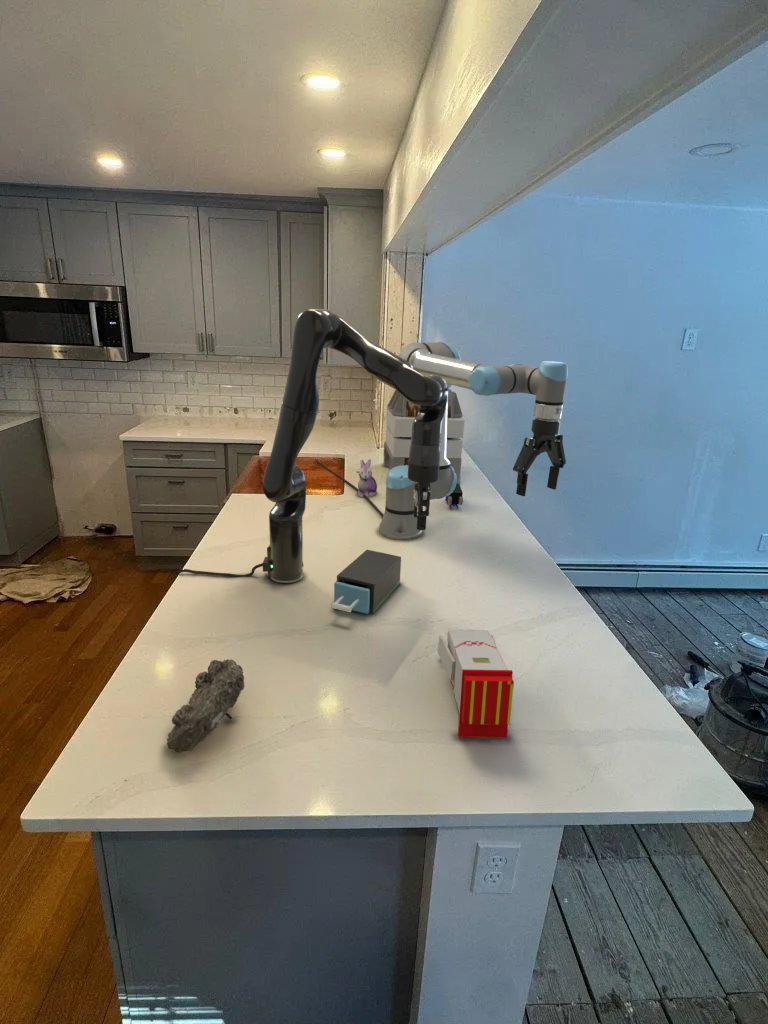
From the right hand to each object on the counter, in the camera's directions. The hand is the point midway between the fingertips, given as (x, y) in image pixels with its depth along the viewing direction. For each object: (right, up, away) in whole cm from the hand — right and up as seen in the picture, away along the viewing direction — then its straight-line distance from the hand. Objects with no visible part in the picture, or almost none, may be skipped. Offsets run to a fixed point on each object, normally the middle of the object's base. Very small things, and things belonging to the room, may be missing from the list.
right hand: (536, 491), depth 165 cm
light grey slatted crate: (-27, +13, +110) cm, 114 cm away
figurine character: (-16, -3, +67) cm, 69 cm away
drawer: (-51, -29, -13) cm, 60 cm away
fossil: (-77, -45, -57) cm, 106 cm away
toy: (-26, -44, -47) cm, 69 cm away
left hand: (-36, -9, -23) cm, 43 cm away
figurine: (-52, +1, +75) cm, 91 cm away
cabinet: (-48, -29, -8) cm, 57 cm away
